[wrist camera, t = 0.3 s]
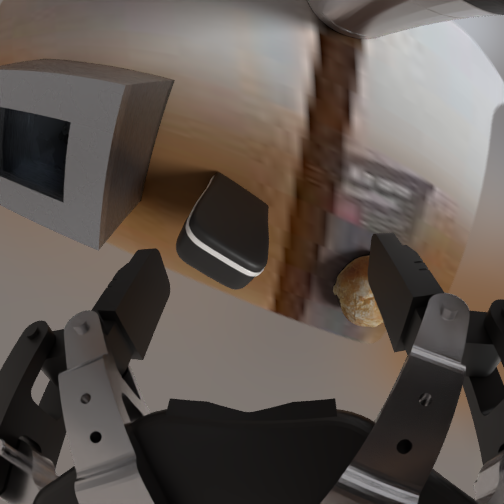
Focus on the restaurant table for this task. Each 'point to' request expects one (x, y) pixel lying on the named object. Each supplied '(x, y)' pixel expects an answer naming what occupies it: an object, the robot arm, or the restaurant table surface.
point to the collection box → (77, 143)
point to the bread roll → (357, 294)
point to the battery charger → (226, 234)
